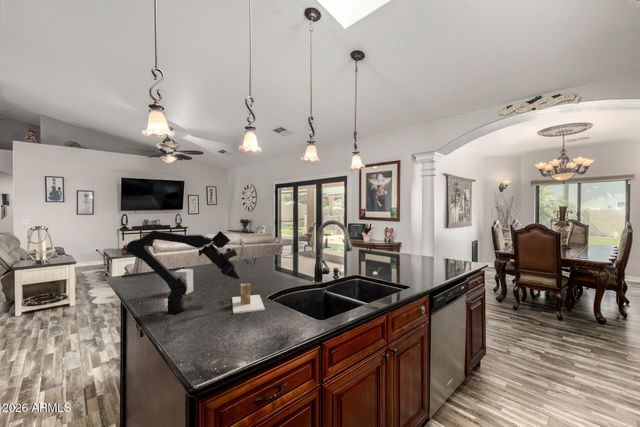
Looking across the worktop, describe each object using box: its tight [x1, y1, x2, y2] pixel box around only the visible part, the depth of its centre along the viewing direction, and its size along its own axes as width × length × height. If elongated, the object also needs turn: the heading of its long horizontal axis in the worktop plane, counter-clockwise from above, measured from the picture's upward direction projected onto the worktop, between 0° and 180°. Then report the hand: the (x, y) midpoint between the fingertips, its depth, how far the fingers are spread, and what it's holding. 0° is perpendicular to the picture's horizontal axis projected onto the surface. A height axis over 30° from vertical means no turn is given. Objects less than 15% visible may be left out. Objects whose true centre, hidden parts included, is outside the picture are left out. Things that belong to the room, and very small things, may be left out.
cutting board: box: [231, 294, 266, 314], centre depth 137 cm, size 14×22×1 cm, turn 19°
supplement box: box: [173, 268, 194, 296], centre depth 155 cm, size 7×7×13 cm
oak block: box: [240, 282, 251, 305], centre depth 136 cm, size 4×4×9 cm
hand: (237, 277), depth 137 cm, fingers open, 9 cm apart
